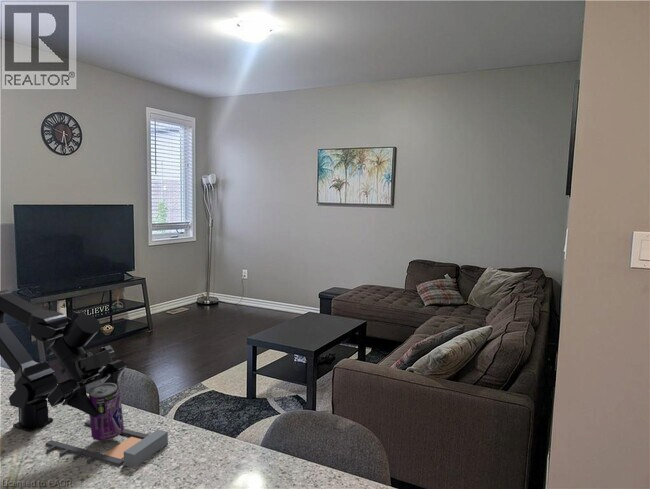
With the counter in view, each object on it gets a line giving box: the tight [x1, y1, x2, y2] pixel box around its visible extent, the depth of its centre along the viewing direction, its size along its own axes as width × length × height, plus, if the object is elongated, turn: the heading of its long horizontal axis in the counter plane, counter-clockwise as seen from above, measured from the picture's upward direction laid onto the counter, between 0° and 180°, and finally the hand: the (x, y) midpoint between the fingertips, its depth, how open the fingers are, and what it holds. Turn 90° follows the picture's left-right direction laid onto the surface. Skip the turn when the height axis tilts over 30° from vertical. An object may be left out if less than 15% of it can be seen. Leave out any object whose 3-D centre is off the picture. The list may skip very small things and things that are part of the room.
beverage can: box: [87, 383, 125, 442], centre depth 110 cm, size 7×7×12 cm
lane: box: [45, 419, 169, 469], centre depth 109 cm, size 26×14×3 cm, turn 70°
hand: (108, 409), depth 109 cm, fingers closed on beverage can, 7 cm apart
